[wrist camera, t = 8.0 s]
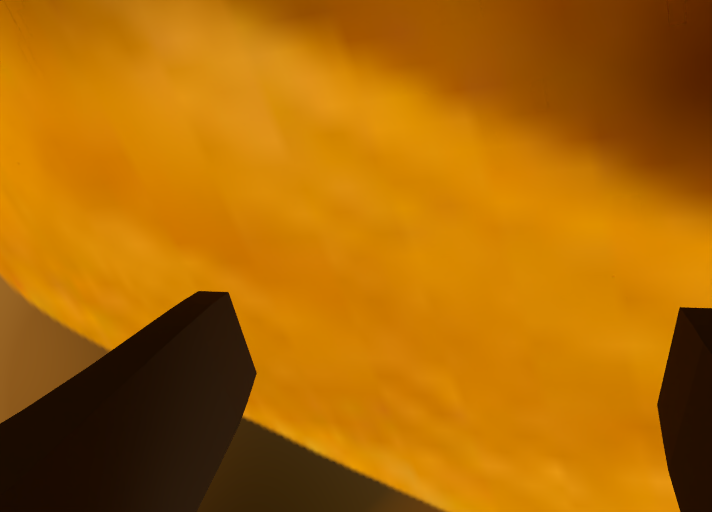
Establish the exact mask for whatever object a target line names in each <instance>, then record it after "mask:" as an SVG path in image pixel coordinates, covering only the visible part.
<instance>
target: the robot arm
mask: <svg viewBox="0 0 712 512" xmlns="http://www.w3.org/2000/svg"><path fill="white" fill-rule="evenodd" d="M256 374H257V373H256V370H255V367H254V364H253V361H252V358H251V356H250V353H249V350H248V347H247V344H246V341H245V338H244V336H243V333H242V330H241V327H240V324H239V321H238V318H237V316H236V313H235V310H234V307H233V304H232V301H231V298H230V295H229V293H228V292H208V291H198V292H196V293H195V294H193V295H192V296H190V297H188V298H187V299H185V300H183V301H182V302H180V303H179V304H177V305H176V306H174V307H173V308H171V309H170V310H169V311H167V312H166V313H164V314H163V315H161V316H160V317H159V318H157V319H156V320H154V321H153V322H151V323H150V324H149V325H147V326H146V327H144V328H143V329H142V330H140V331H139V332H137V333H136V334H135V335H133V336H132V337H130V338H129V339H127V340H126V341H125V342H123V343H122V344H120V345H119V346H117V347H116V348H115V349H113V350H112V351H110V352H109V353H108V354H106V355H105V356H103V357H102V358H100V359H99V360H98V361H96V362H95V363H93V364H92V365H90V366H89V367H88V368H86V369H85V370H83V371H81V372H80V373H79V374H77V375H76V376H74V377H73V378H71V379H70V380H68V381H66V382H65V383H63V384H62V385H60V386H59V387H57V388H56V389H54V390H53V391H51V392H50V393H48V394H47V395H45V396H44V397H42V398H41V399H39V400H37V401H36V402H34V403H33V404H32V405H30V406H28V407H27V408H25V409H24V410H22V411H21V412H19V413H17V414H15V415H14V416H12V417H11V418H9V419H7V420H6V421H4V422H2V423H1V424H0V512H196V511H197V510H198V508H199V506H200V503H201V502H202V500H203V498H204V496H205V494H206V491H207V490H208V487H209V485H210V483H211V482H212V480H213V478H214V476H215V474H216V471H217V470H218V468H219V465H220V464H221V461H222V459H223V457H224V455H225V453H226V451H227V449H228V447H229V445H230V443H231V441H232V439H233V437H234V435H235V433H236V430H237V428H238V426H239V424H240V421H241V418H242V416H243V413H244V410H245V407H246V404H247V402H248V399H249V396H250V392H251V389H252V386H253V383H254V380H255V377H256ZM657 406H658V413H659V419H660V425H661V431H662V438H663V444H664V449H665V455H666V460H667V466H668V471H669V474H670V478H671V481H672V485H673V488H674V492H675V495H676V498H677V502H678V505H679V508H680V512H712V308H683V307H680V309H679V313H678V317H677V321H676V326H675V330H674V334H673V339H672V343H671V347H670V352H669V356H668V360H667V365H666V369H665V373H664V378H663V382H662V386H661V391H660V395H659V399H658V404H657Z"/></svg>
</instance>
